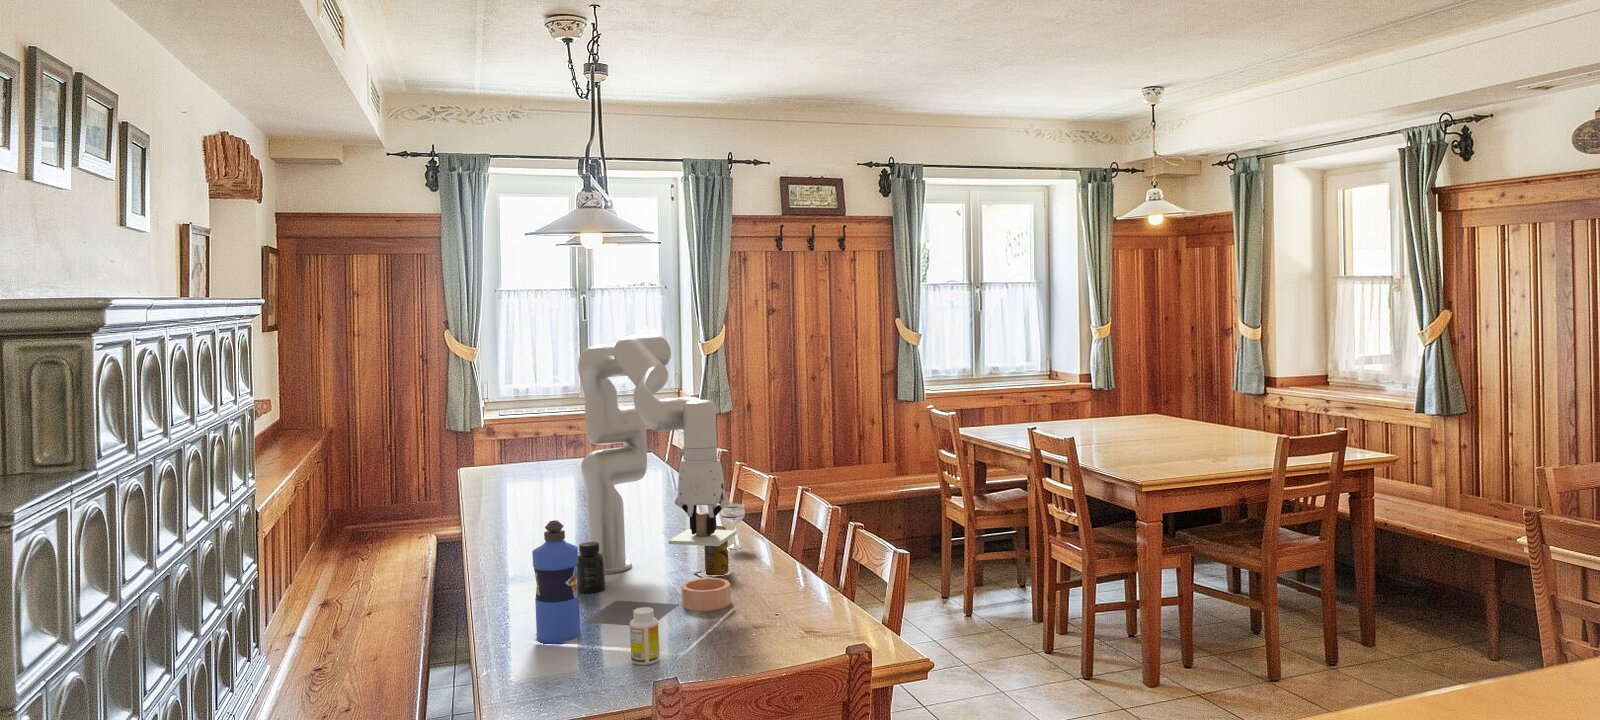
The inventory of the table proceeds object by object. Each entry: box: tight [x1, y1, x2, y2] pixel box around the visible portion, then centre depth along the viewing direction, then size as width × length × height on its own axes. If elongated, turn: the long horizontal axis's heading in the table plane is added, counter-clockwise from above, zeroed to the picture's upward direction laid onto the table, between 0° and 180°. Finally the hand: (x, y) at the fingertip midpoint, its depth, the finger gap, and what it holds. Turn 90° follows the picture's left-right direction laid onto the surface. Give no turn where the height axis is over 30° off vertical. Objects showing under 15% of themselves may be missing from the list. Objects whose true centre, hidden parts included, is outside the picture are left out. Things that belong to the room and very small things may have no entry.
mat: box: [583, 600, 680, 626], centre depth 231 cm, size 16×16×1 cm
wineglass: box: [720, 502, 746, 548], centre depth 290 cm, size 7×7×12 cm
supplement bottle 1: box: [576, 541, 606, 595], centre depth 250 cm, size 7×7×12 cm
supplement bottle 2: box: [629, 607, 660, 666], centre depth 201 cm, size 6×6×10 cm
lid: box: [668, 511, 738, 546], centre depth 235 cm, size 12×12×6 cm
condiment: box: [692, 525, 729, 575], centre depth 263 cm, size 7×8×12 cm
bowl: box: [680, 577, 732, 612], centre depth 236 cm, size 11×11×5 cm
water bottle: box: [532, 520, 582, 645], centre depth 216 cm, size 9×9×25 cm
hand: (703, 532), depth 235 cm, fingers closed on lid, 3 cm apart
